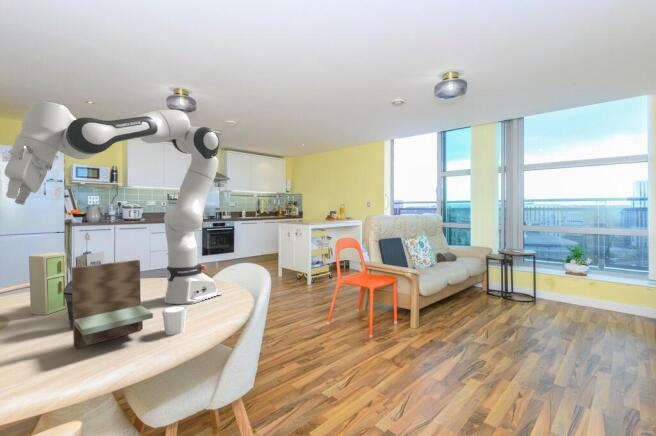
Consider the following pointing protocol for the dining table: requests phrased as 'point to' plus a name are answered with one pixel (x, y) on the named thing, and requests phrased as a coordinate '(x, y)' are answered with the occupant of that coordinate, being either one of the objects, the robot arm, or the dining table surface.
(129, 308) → the wall shelf
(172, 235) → the robot arm
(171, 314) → the white cup
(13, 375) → the dining table surface
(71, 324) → the beverage cup
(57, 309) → the toy refrigerator
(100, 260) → the milk carton
